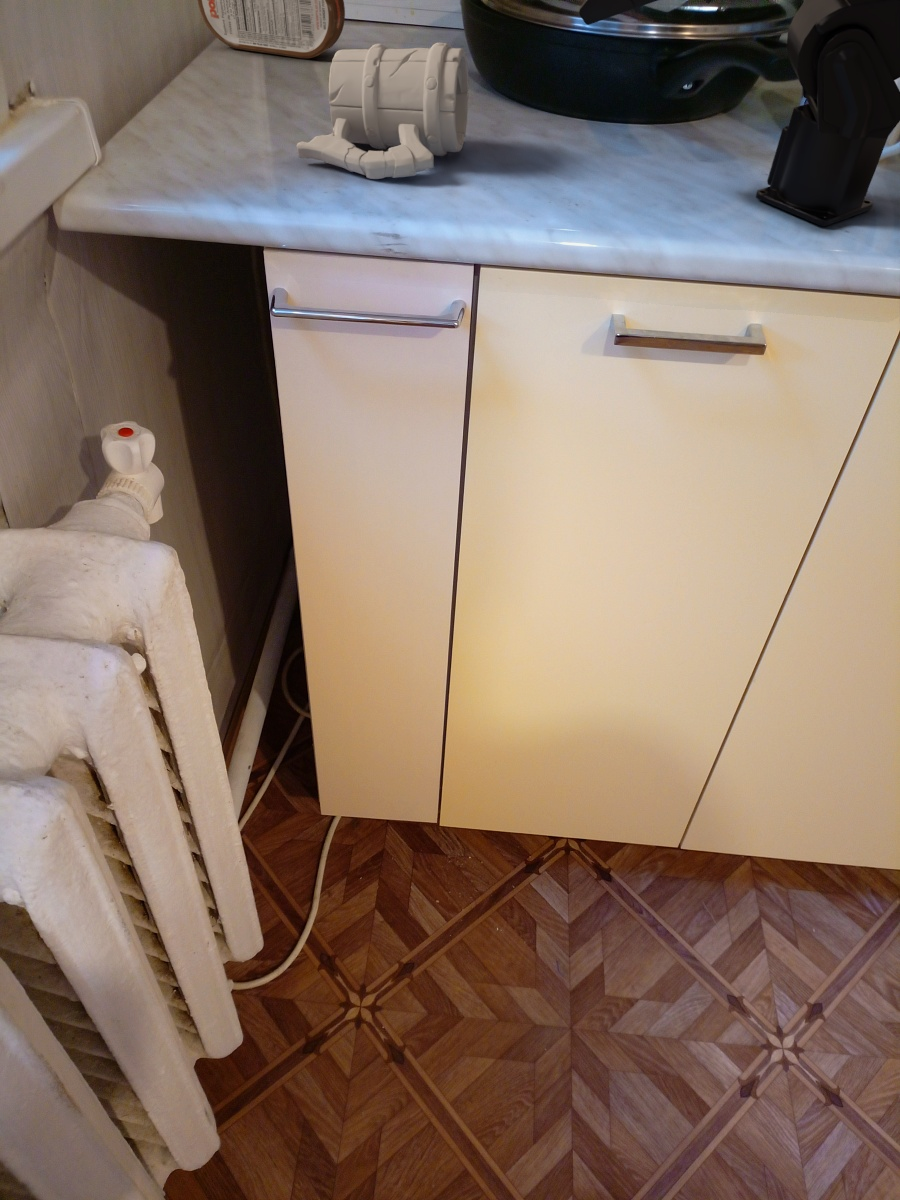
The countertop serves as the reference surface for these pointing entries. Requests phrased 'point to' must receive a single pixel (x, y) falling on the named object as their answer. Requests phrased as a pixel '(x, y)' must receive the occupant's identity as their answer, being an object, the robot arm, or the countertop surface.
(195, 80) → the countertop surface
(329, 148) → the mug
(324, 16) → the tin
